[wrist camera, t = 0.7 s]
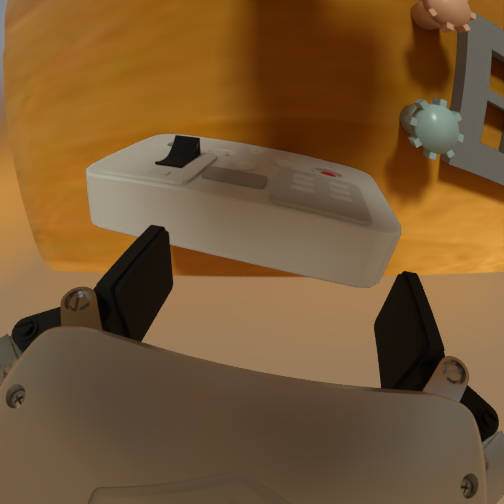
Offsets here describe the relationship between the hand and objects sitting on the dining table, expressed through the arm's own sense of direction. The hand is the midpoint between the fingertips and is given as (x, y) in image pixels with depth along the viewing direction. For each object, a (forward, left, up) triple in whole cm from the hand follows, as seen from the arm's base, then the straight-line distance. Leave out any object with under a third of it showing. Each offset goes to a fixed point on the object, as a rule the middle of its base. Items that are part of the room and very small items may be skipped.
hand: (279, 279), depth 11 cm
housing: (-13, +26, -28) cm, 40 cm away
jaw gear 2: (-6, +14, -28) cm, 32 cm away
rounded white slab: (+4, -5, -28) cm, 29 cm away
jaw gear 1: (-21, +14, -28) cm, 38 cm away
